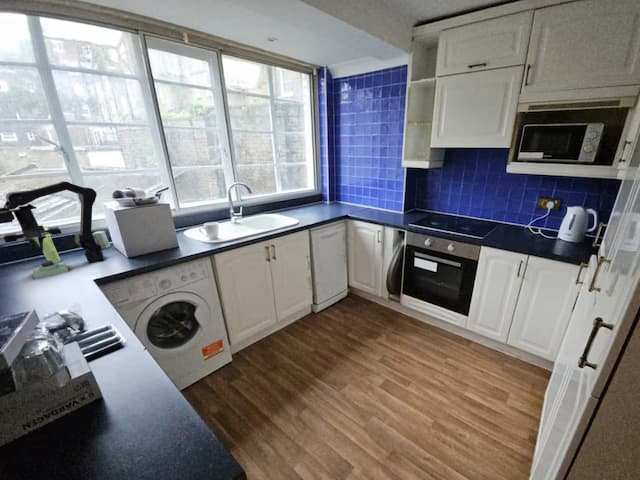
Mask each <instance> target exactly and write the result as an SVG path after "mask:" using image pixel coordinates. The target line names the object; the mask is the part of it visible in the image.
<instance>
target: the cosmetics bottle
mask: <svg viewBox="0 0 640 480" xmlns="http://www.w3.org/2000/svg"><path fill="white" fill-rule="evenodd" d="M92 236H93V238H94V242H95V244H98V245H100V246H101V250H104V249H109V248H110V247H111V244H110V241H109V239H108V236H107V234H106V231H105V230H97V231H95V232H93V233H92Z"/></svg>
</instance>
